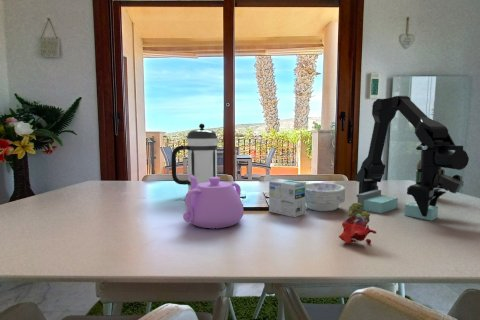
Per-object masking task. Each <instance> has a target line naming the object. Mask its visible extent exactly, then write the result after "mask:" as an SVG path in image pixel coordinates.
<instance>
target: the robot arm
mask: <svg viewBox="0 0 480 320" xmlns="http://www.w3.org/2000/svg"><path fill="white" fill-rule="evenodd" d="M371 107H372V110H371V115H372V117H373V120H374V125H373V129H372V134H371V138H370V144H369V147H368V155H367V157H366V158H365V159H364V160H363V161H362V163H361V166H360V169H359V170H358V172H357V173H356V174H355V176H354V178H355V182H358V194H361V193H365V192H369V191H373V190H379V186H378V183H381V182H382V178H383V175H385V168H386V164H384V162H383V160H382V156H383V151H384V148H385V143H386V138H387V132H388V129H389V124H390V123H391V122H392V121H393V119H394V118H396V114H397V112H398V111H399V112H400V114H402V116H403V117H404V118H405V119H406V120H407V121H408V122H409V123H410V125H412V126H413V128H414V134H415V136H416V137H417V138H418V139H417V140H418V141H419V142H420V145H418V146H417V147H416V148H415V150H417V151H420V160H421V163H420V168H418V172H420V179H419V181H417V184H416V183H415V184H411V185H409V186H408V187H407V188H406V195H408V196H409V195H411V196H412V197H413V199H414V201H415V203H417V205H418V207H419V210H420V212H421V214H422V216H425V217H426V216H427V213H428V208H429V205H431V206H437V204H438V201H439V199H440V197H443V195H445V194H447V191H449V192H450V193H452V194H457V193H459V192H460V191H461V188H462V187H464V181H463V176H462V175H459V174H454V175H453V176H452V175H447V174H445V172H446V171H445V168H446V169H452V170H456V171H457V170H458V171H461V170H464V169H465V168H466V167H467V166H468V163H469V160H470V157H469V155H468V153H467V152H466V151H465V150H464V146H463V145H456V144H455V142H454V141H453V139H452V137H451V135H450V133H449V129H448V128H447V127H446V125H444V124H443V123H441V122H439V121H437V120H435V119H432V118H430V117H428V115H426V114H425V112H423V111H422V110H421V109H420V108H419V106H417V104H415V103H414V102H413V101H412V99H411V98H410V96H408V95H395V96H392V97H387V98H377V99H375V100H374V101H373V103H372V105H371ZM358 194H356V197H358Z"/></svg>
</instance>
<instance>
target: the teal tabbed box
mask: <svg viewBox="0 0 480 320" xmlns="http://www.w3.org/2000/svg"><path fill="white" fill-rule="evenodd" d="M357 195H358V196H357V203H362V204H363V210H362V211H366V210H367V212H372V213H378V214H384V213H386V212H389V211H392V210H394V209H397V208H398V205H399V204H398V202H399V199H398V197H394V196H387V195H383V194H382V190H381V189H378V190H373V191H369V192H365V193H361V194H359V193H358V194H357Z"/></svg>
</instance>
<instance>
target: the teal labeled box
mask: <svg viewBox="0 0 480 320" xmlns="http://www.w3.org/2000/svg"><path fill="white" fill-rule="evenodd" d="M438 213H439V206H438V205H436V206H431V205H429V208H428V213H427V216H426V217H425V216H422V214H421V212H420V210H419V207H418V205H417V203H416V202H412V201H410V202H408V203H405V204H404V214H403V215H404V216H408V217H412V218H417V219H421V220H427V221H433V220H436V219H437V218H439V217H438V216H439V215H438Z"/></svg>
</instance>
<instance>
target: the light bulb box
mask: <svg viewBox="0 0 480 320" xmlns="http://www.w3.org/2000/svg"><path fill="white" fill-rule="evenodd" d="M306 184H307V182H306V181H297V180H291V179H282V178H277V179H274V180H273V179H272V180H269V183H268V200H269V201H268V212H269V213H274V214H277V215H278V214H279V215H282V216H283V215H284V216H286V217H291V218H298V217H299V216H302V215H305V214H306V212H307V211H306V208H307V205H306Z"/></svg>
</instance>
